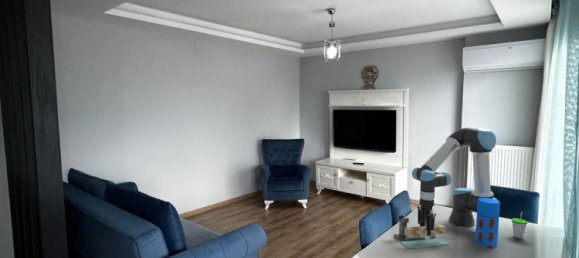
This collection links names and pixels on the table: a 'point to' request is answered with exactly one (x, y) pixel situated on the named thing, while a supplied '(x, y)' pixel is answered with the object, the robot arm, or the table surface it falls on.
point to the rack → (401, 230)
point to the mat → (424, 243)
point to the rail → (423, 230)
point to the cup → (519, 227)
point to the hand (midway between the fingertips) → (424, 239)
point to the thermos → (487, 222)
